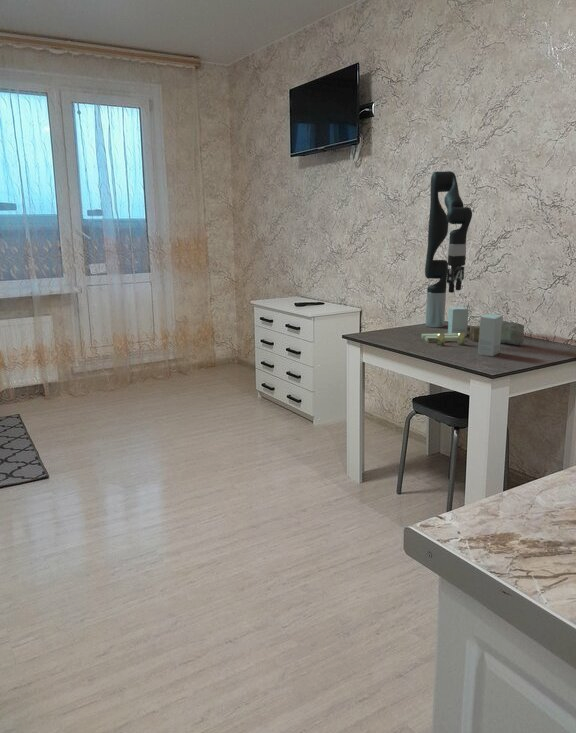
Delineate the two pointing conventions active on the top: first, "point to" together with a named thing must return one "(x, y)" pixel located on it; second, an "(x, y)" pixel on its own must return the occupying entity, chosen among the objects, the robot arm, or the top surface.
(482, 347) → the skincare box
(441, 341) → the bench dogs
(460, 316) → the supplement box
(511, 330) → the stone
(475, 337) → the walnut block
